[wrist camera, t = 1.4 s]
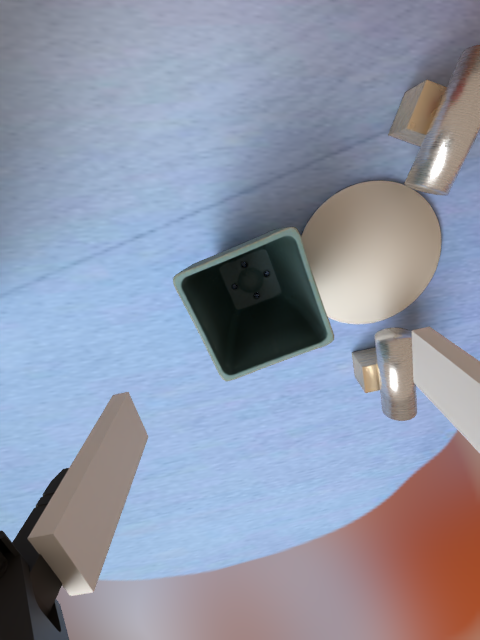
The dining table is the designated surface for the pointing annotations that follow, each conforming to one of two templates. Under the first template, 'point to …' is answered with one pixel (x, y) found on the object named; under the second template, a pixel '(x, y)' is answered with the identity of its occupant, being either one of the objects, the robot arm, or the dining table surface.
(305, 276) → the flower pot
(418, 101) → the shaft
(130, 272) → the dining table surface
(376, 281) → the seat pad
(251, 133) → the dining table surface
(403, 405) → the shaft
